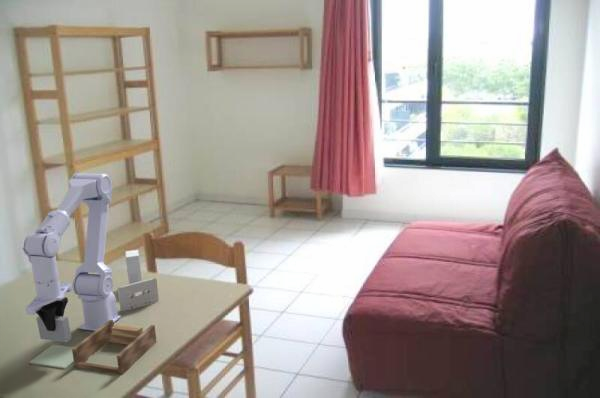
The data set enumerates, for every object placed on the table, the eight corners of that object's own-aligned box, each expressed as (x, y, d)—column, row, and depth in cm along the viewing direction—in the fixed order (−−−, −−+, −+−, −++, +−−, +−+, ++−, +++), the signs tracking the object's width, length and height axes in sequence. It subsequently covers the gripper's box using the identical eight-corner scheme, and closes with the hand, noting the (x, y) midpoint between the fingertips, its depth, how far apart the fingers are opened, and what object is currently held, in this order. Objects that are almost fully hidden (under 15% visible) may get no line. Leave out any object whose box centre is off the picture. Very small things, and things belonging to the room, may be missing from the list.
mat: (53, 345, 158) (53, 344, 158) (88, 350, 155) (88, 349, 154) (29, 363, 150) (29, 362, 149) (65, 369, 146) (65, 367, 146)
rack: (112, 336, 162) (109, 319, 161) (156, 342, 158) (154, 325, 156) (74, 366, 147) (71, 349, 146) (122, 374, 143) (120, 356, 142)
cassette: (157, 299, 184) (155, 276, 182) (159, 301, 183) (157, 278, 181) (119, 310, 178) (116, 286, 176) (121, 312, 176) (118, 288, 174)
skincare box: (129, 284, 196) (125, 251, 193) (142, 282, 197) (138, 249, 194) (129, 291, 190) (125, 257, 187) (143, 289, 192) (139, 255, 188)
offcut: (116, 338, 161) (114, 323, 160) (144, 341, 159) (143, 326, 157) (110, 342, 159) (108, 327, 158) (139, 346, 156) (138, 331, 155)
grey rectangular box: (45, 335, 153) (42, 314, 151) (71, 338, 150) (67, 317, 149) (40, 338, 151) (36, 317, 149) (66, 342, 149) (62, 320, 147)
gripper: (39, 292, 138) (48, 343, 142) (78, 269, 152) (85, 316, 155) (15, 289, 140) (24, 340, 144) (56, 267, 154) (63, 313, 157)
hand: (54, 327), depth 150 cm, fingers closed on grey rectangular box, 2 cm apart
